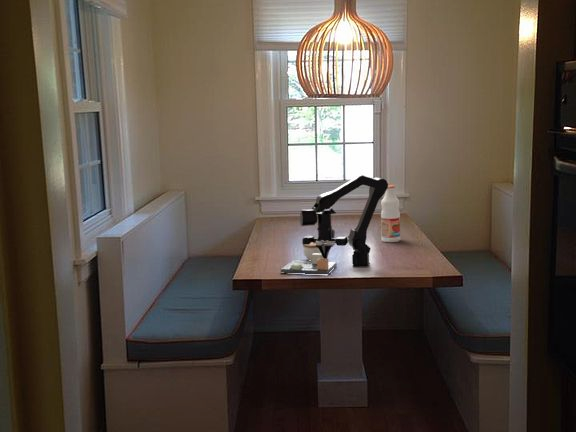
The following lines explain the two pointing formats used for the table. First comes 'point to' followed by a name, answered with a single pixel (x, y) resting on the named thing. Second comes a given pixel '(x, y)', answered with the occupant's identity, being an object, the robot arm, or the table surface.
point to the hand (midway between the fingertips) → (325, 260)
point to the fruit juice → (390, 216)
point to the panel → (307, 267)
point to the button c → (296, 266)
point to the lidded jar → (310, 250)
